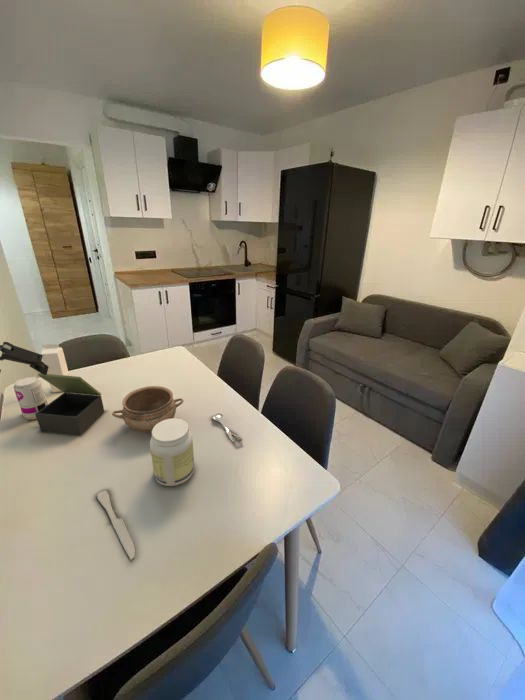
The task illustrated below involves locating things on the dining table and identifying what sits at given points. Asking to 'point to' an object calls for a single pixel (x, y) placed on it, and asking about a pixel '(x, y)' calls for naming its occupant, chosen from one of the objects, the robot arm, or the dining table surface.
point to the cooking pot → (148, 407)
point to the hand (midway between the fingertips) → (22, 372)
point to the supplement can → (30, 396)
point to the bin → (70, 413)
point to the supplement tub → (172, 452)
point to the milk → (54, 361)
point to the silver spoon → (220, 419)
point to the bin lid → (70, 384)
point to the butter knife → (117, 524)
